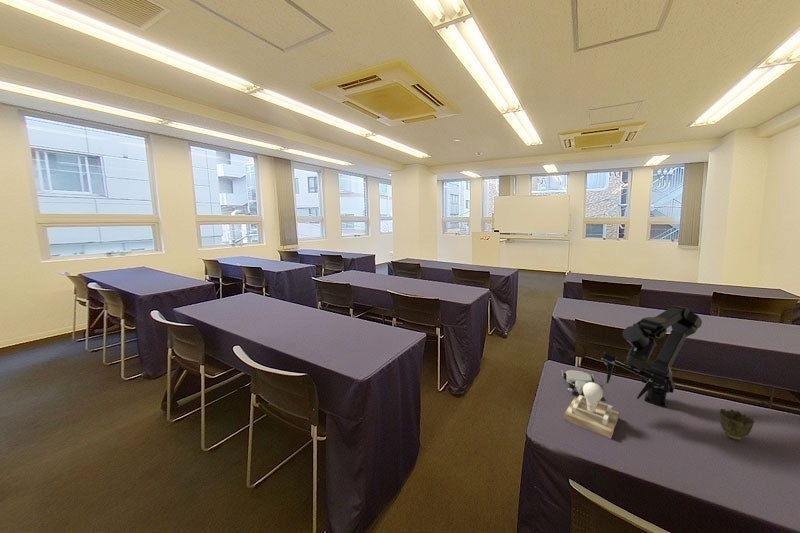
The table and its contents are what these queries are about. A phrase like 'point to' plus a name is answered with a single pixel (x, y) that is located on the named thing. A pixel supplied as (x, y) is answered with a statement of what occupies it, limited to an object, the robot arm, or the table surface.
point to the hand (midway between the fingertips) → (621, 390)
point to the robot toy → (577, 380)
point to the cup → (735, 424)
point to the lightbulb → (592, 395)
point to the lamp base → (592, 417)
